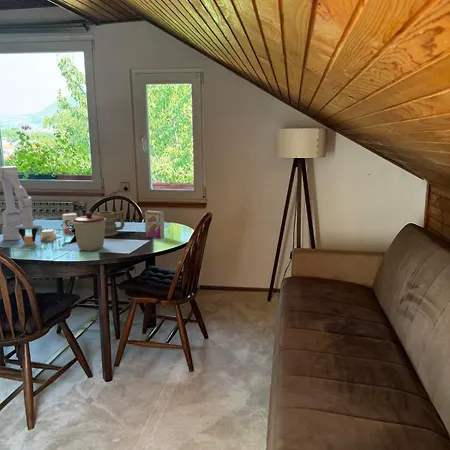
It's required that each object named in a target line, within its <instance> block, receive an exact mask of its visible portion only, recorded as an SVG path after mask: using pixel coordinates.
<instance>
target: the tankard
mask: <svg viewBox="0 0 450 450" xmlns="http://www.w3.org/2000/svg"><path fill="white" fill-rule="evenodd" d="M127 213H128V211H127V210H125V209H122V210H121V211H118V212H114V211H112V210H111V211H109V210H108V211H107V210H106V211H99V212H96V214H97V216H102V217H104V218H106V221H105V235H104V237H111V236H116V235H118V234H119V233H118V232H119V231H121V230H123V229H124V227H125V221H124V217H123V214H127ZM117 216H118V220H119V221H120V226H117V224H116V221H117V218H116V217H117Z"/></svg>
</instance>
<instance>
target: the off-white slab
mask: <svg viewBox="0 0 450 450" xmlns="http://www.w3.org/2000/svg"><path fill="white" fill-rule="evenodd" d="M40 233H41V236H42V237H48V236H53V235H54V234H55V229H54V228H53V229H42V230H41V231H40Z"/></svg>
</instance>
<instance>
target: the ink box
mask: <svg viewBox="0 0 450 450" xmlns="http://www.w3.org/2000/svg"><path fill="white" fill-rule="evenodd" d="M61 217H62V219H61V220H62V227H63V228H62V229H63V233H65V234H68V233H72V232H71V231H70V230H69V229H67V228H66V227H67V226H69V225H73V222H72V220H74V219H75V218H77V217H78V214H77V213H76V212H69V213H63V214H62V215H61Z"/></svg>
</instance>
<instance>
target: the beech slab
mask: <svg viewBox="0 0 450 450" xmlns="http://www.w3.org/2000/svg"><path fill="white" fill-rule="evenodd" d="M56 237H57V235H56V233H54V235H53V236H48V237H42V235H41V236H40V242H52V241H53V242H54V241H55V239H56Z"/></svg>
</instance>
